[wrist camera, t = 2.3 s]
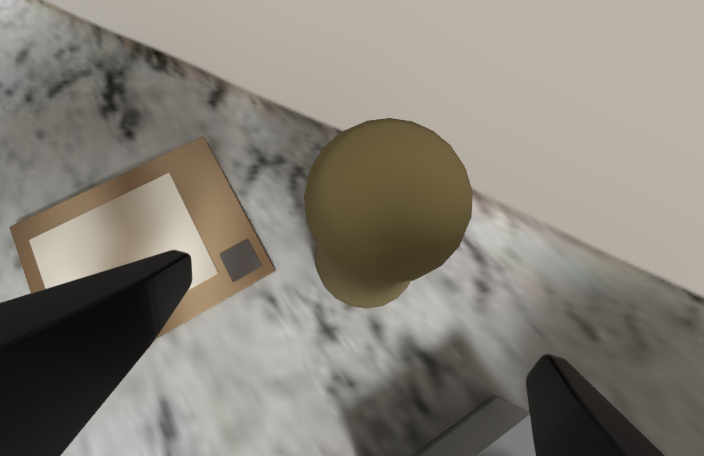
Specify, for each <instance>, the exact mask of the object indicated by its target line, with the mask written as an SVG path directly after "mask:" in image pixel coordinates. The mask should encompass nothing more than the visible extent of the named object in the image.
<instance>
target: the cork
mask: <svg viewBox="0 0 704 456" xmlns="http://www.w3.org/2000/svg"><path fill="white" fill-rule="evenodd" d="M472 193H473V192H472V189H471V185H470V182H469V178H468V175H467V171H466V169H465V167H464V165H463V163H462V162H461V160H460V159H459V157H458V156H457V154H456V153H455V151H454V150H453V148H452V147H451V145H449V144H448V143H447V142H446V141H445V140H443V139H442V138H441V137H440V136H439V135H437V134H436V133H435V132H434V131H432V130H430V129H428V128H426V127H423V126H421V125H419V124H417V123H414V122H412V121H405V120H398V119H392V118H387V119H378V120H370V121H366V122H364V123H361V124H359V125H356V126H354V127H352V128H350V129H347V130H345V131H343V132H341V133H340V134H338V135H337V136H336V137H335V138H334V139H333V140H331V141H330V142H329V143H328V144H327V145H326V146H324V147H323V149H322V150H321V152H320V154H319V155H318V157H317V159H316V161H315V162H314V164H313V166H312V167H311V170H310V173H309V176H308V181H307V186H306V191H305V195H304V203H305V210H306V218H307V224H308V226H309V228H310V230H311V232H312V234H313V236H314V239H315V241H316V243H317V245H318V246H317V251H316V256H315V257H316V265H317V272H318V274H319V276H320V278H321V281H322V283H323V285H324V287H325V288H326V289H327V290H328V291H329V292H330V293H331V294H332V295H333V296H334V297H335V298H336V299H338V300H340V301H342V302H344V303H346V304H348V305H350V306H354V307H360V308H373V307H379V306H383V305H385V304H387V303H389V302H391V301H393V300H394V299H396V298H398V296H399V295H400V294H401V293H402V292H403V291H404V290H405V289H406V288H407V287H408V285H409V283H410V281H412V280H415V279H417V278H419V277H421V276H423V275H425V274H427V273H429V272H431V271H432V270H434V269H436V268H438V267H440V266H442V265H443V264H444V262H445V261H446V260H447V259H448V258H449V257H450V256H451V255H452V254H453V253H454V251H455V250H456V249H457V248H458V247H459V245H460V243H461V241H462V238H463V236H464V233H465V231H466V228H467V226H468V224H469V221H470V219H471V214H472Z"/></svg>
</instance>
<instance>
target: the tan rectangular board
mask: <svg viewBox="0 0 704 456" xmlns="http://www.w3.org/2000/svg"><path fill="white" fill-rule="evenodd" d="M10 230H11V233H12V236H13V239H14V242H15V245H16V248H17V251H18V254H19V257H20V261H21V264H22V267H23V270H24V273H25V276H26V279H27V282H28V285H29V288H30V291H31V293H34V292H37V291H41V290H44V289H47V288H50V287H54V286H57V285H60V284H63V283H67V282H70V281H73V280H76V279H80V278H83V277H86V276H89V275H92V274H96V273H99V272H102V271H105V270H109V269H112V268H115V267H118V266H122V265H125V264H128V263H131V262H135V261H138V260H141V259H144V258H147V257H151V256H154V255H157V254H160V253H164V252H167V251H170V250H178V251H182V252H185V253H188V254H189V255H190V256H191V261H192V283H191V286H190V288H189V290H188V291H187V293H186V294H185V296H184V297H183V299H182V300H181V302H180V303H179V305H178V306H177V308H176V309H175V311H174V312H173V314H172V315H171V317H170V318H169V320H168V321H167V323H166V324H165V326H164V327H163V329H162V330H161V332H160V333H159V335H158V336H157V337H156V338H158V337H160V336H162V335H163V334H165V333H167V332H169V331H171V330H172V329H174V328H176V327H178V326H179V325H181V324H183V323H185V322H186V321H188V320H190V319H192V318H193V317H195V316H197V315H199V314H200V313H202V312H204V311H206V310H207V309H209V308H211V307H213V306H214V305H216V304H218V303H220V302H221V301H223V300H225V299H227V298H229V297H230V296H232V295H234V294H236V293H237V292H239V291H241V290H243V289H244V288H246V287H248V286H250V285H251V284H253V283H255V282H257V281H258V280H260V279H262V278H264V277H265V276H267V275H269V274H271V273H272V272H274V271H276V270H275V268H274V266H273V264H272V262H271V261H270V259H269V257H268V255H267V253H266V251H265V249H264V248H263V246H262V244H261V242H260V240H259V238H258V236H257V235H256V233H255V231H254V229H253V227H252V225H251V223H250V222H249V220H248V218H247V216H246V214H245V212H244V210H243V208H242V207H241V205H240V203H239V201H238V199H237V197H236V195H235V194H234V192H233V190H232V188H231V186H230V184H229V182H228V181H227V179H226V177H225V175H224V173H223V171H222V169H221V168H220V166H219V164H218V162H217V160H216V158H215V156H214V155H213V153H212V151H211V149H210V147H209V145H208V143H207V141H206V140H205V139H204V137H201V138H198V139H196V140H194V141H192V142H190V143H188V144H186V145H183V146H181V147H179V148H177V149H175V150H173V151H171V152H169V153H166V154H164V155H162V156H160V157H158V158H156V159H154V160H152V161H149V162H147V163H145V164H143V165H141V166H139V167H137V168H134V169H132V170H130V171H128V172H126V173H124V174H122V175H120V176H117V177H115V178H113V179H111V180H109V181H107V182H105V183H102V184H100V185H98V186H96V187H94V188H92V189H90V190H88V191H85V192H83V193H81V194H79V195H77V196H75V197H73V198H71V199H68V200H66V201H64V202H62V203H60V204H58V205H56V206H53V207H51V208H49V209H47V210H45V211H43V212H41V213H39V214H36V215H34V216H32V217H30V218H28V219H26V220H24V221H21V222H19V223H17V224H15V225H13V226H11V227H10Z"/></svg>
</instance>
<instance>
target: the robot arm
mask: <svg viewBox="0 0 704 456" xmlns="http://www.w3.org/2000/svg"><path fill="white" fill-rule="evenodd" d="M191 283H192V261H191V256H190V255H189V254H188V253H185V252H182V251H178V250H170V251H167V252H164V253H160V254H157V255H154V256H151V257H147V258H144V259H141V260H138V261H135V262H131V263H128V264H125V265H122V266H118V267H115V268H112V269H109V270H105V271H102V272H99V273H96V274H92V275H89V276H86V277H83V278H80V279H76V280H73V281H70V282H67V283H63V284H60V285H57V286H54V287H50V288H47V289H44V290H41V291H37V292H34V293H31V294H28V295H24V296H21V297H18V298H15V299H12V300H8V301H5V302H2V303H0V456H60V455H61V454H62V453H63V452H64V450H65V449H66V448H67V447H68V446H69V444H70V443H71V442H72V441H73V439H74V438H75V437H76V436H77V435H78V433H79V432H80V431H81V430H82V428H83V427H84V426H85V425H86V424H87V422H88V421H89V420H90V419H91V417H92V416H93V415H94V414H95V413H96V411H97V410H98V409H99V408H100V406H101V405H102V404H103V403H104V402H105V400H106V399H107V398H108V397H109V395H110V394H111V393H112V392H113V391H114V389H115V388H116V387H117V386H118V384H119V383H120V382H121V381H122V380H123V378H124V377H125V376H126V375H127V373H128V372H129V371H130V370H131V369H132V367H133V366H134V365H135V364H136V362H137V361H138V360H139V359H140V358H141V356H142V355H143V354H144V353H145V351H146V350H147V349H148V348H149V347H150V345H151V344H152V343H153V341H154V340H155V339H156V337H157V336H158V335H159V333H160V332H161V330H162V329H163V327H164V326H165V324H166V323H167V321H168V320H169V318H170V317H171V315H172V314H173V312H174V311H175V309H176V308H177V306H178V305H179V303H180V302H181V300H182V299H183V297H184V296H185V294H186V293H187V291H188V290H189V288H190V286H191ZM526 387H527V395H528V403H529V411H530V419H531V427H532V434H533V442H534V448H535V453H536V456H665V455H664V454H662V453H661V452H660V451H659V450H658V449H657V448H656V447H655V446H654V445H653V444H652V443H651V442H650V441H649V440H648V439H647V438H646V437H645V436H644V435H643V434H642V433H641V432H640V431H639V430H638V429H637V428H636V427H635V426H634V425H632V424H631V423H630V422H629V421H628V420H627V419H626V418H625V417H624V416H623V415H622V414H621V413H620V412H619V411H618V410H617V409H616V408H615V407H614V406H613V405H612V404H611V403H610V402H609V401H608V400H607V399H606V398H605V397H604V396H602V395H601V394H600V393H599V392H598V391H597V390H596V389H595V388H594V387H593V386H592V385H591V384H590V383H589V382H588V381H587V380H586V379H585V378H584V377H583V376H582V375H581V374H580V373H579V372H578V371H577V370H576V369H575V368H574V367H572V366H571V365H570V364H569V363H568V362H567V361H566V360H565V359H563V358H561V357H557V356H554V355H550V354H545V355H543V356H541V358H540V359H539V360H538V361H537V363H536V364H535V365H534V367H533V368H532V369H531V371H530V372H529V373H528V375H527V379H526Z"/></svg>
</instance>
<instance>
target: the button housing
mask: <svg viewBox="0 0 704 456" xmlns="http://www.w3.org/2000/svg"><path fill="white" fill-rule="evenodd" d="M412 456H536V453H535V448H534V442H533V434H532V427H531V419H530V412H528V411H526V410H524V409H522V408H520V407H518V406H516V405H514V404H512V403H510V402H508V401H506V400H504V399H502V398H500V397H498V396H496V395H493V396H492V397H491V398H489V399H488V400H487V401H485V402H484V403H482V404H481V405H480V406H478V407H477V408H476V409H474V410H473V411H472V412H470V413H469V414H468V415H466V416H465V417H463V418H462V419H461V420H459V421H458V422H457V423H455V424H454V425H453V426H451V427H450V428H449V429H447V430H446V431H445V432H443V433H442V434H440V435H439V436H438V437H436V438H435V439H434V440H432V441H431V442H430V443H428V444H427V445H426V446H424V447H423V448H421V449H420V450H419V451H417V452H416V453H415V454H413V455H412Z"/></svg>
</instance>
